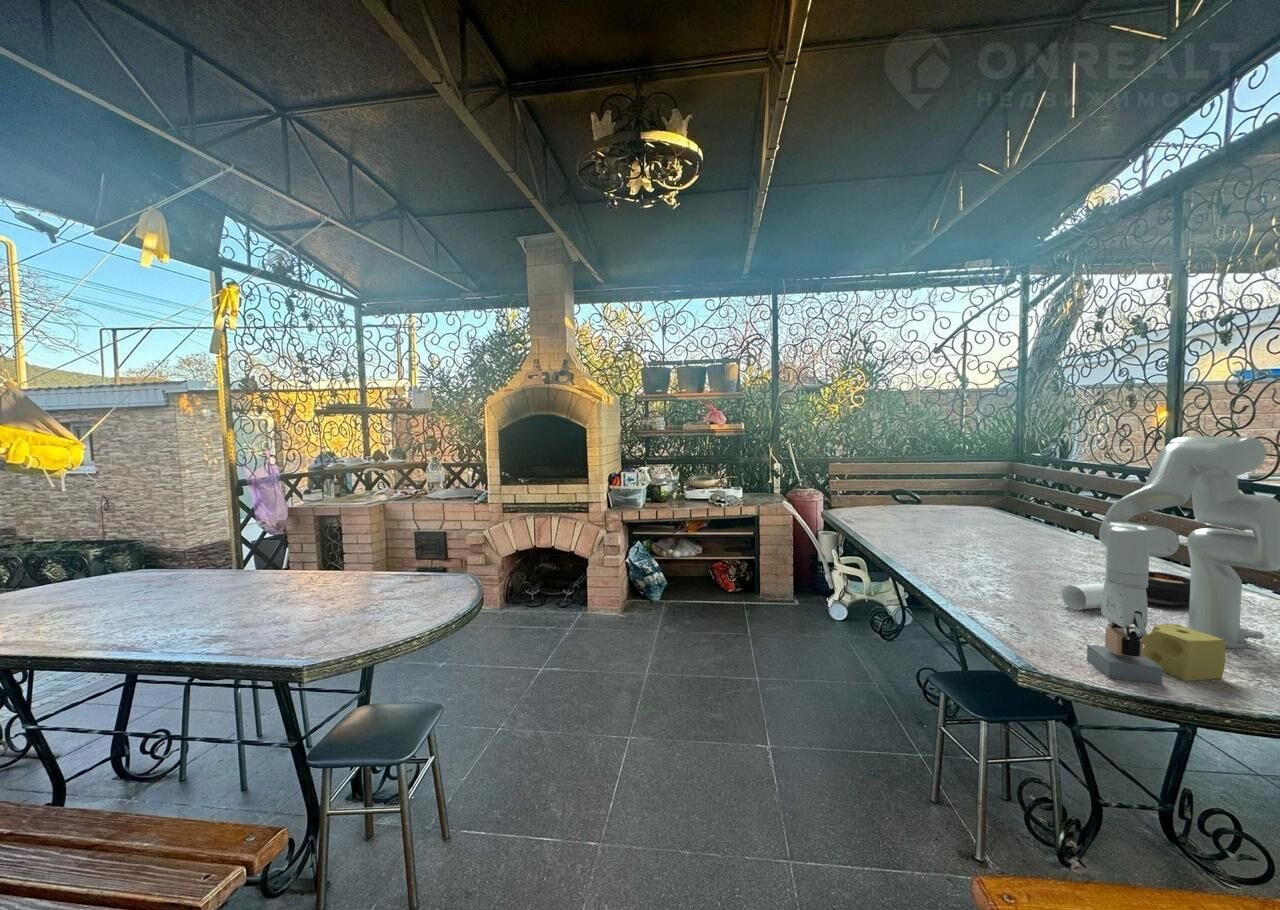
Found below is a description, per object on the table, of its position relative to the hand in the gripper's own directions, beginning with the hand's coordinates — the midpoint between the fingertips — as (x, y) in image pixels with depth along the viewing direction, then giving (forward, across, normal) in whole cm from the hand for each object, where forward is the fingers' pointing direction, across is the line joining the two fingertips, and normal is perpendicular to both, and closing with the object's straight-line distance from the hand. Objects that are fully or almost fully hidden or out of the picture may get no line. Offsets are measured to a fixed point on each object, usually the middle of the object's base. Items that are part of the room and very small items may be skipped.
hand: (1123, 649), depth 123 cm
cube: (+1, 0, 0) cm, 1 cm away
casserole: (+6, -68, +43) cm, 81 cm away
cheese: (+6, -5, +14) cm, 16 cm away
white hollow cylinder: (+6, -53, +17) cm, 56 cm away
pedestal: (+6, 0, 0) cm, 6 cm away
